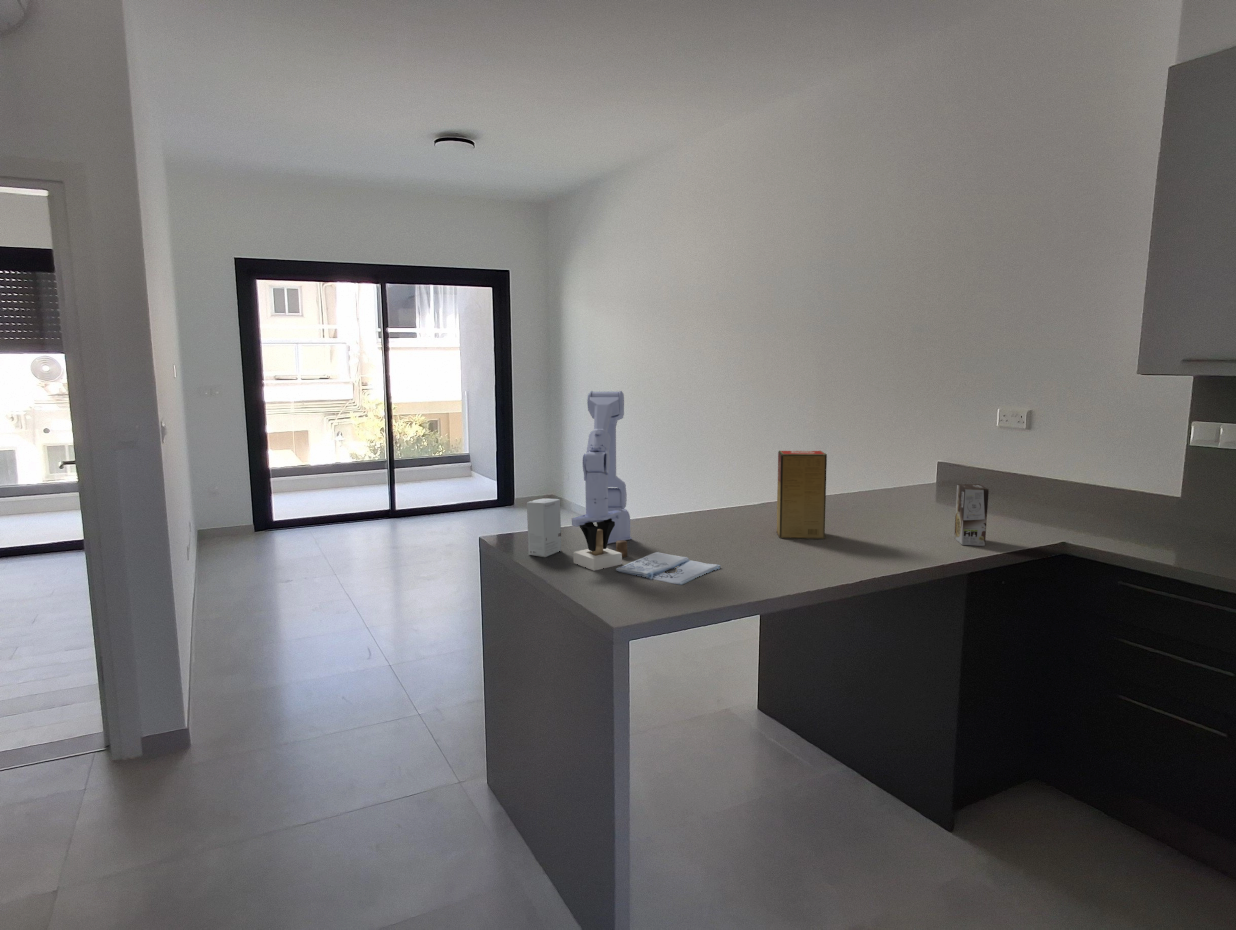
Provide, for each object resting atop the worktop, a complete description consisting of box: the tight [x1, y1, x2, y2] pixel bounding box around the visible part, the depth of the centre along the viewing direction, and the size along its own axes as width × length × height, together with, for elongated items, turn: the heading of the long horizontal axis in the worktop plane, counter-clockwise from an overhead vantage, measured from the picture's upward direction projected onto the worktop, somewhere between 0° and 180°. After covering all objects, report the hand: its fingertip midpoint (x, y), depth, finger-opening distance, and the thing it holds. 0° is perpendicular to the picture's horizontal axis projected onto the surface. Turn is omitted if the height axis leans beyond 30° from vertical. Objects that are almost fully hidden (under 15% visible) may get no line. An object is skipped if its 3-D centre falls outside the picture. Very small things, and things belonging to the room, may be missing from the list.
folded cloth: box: [615, 551, 721, 586], centre depth 186 cm, size 19×20×2 cm
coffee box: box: [953, 483, 990, 547], centre depth 209 cm, size 9×6×16 cm
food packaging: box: [775, 450, 828, 540], centre depth 219 cm, size 13×9×25 cm
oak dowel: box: [592, 529, 603, 556], centre depth 192 cm, size 3×3×7 cm
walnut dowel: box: [615, 540, 628, 558], centre depth 200 cm, size 3×3×4 cm
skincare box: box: [526, 497, 562, 558], centre depth 203 cm, size 8×6×15 cm
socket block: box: [573, 547, 623, 572], centre depth 192 cm, size 9×9×3 cm
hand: (597, 549), depth 192 cm, fingers closed on oak dowel, 3 cm apart
